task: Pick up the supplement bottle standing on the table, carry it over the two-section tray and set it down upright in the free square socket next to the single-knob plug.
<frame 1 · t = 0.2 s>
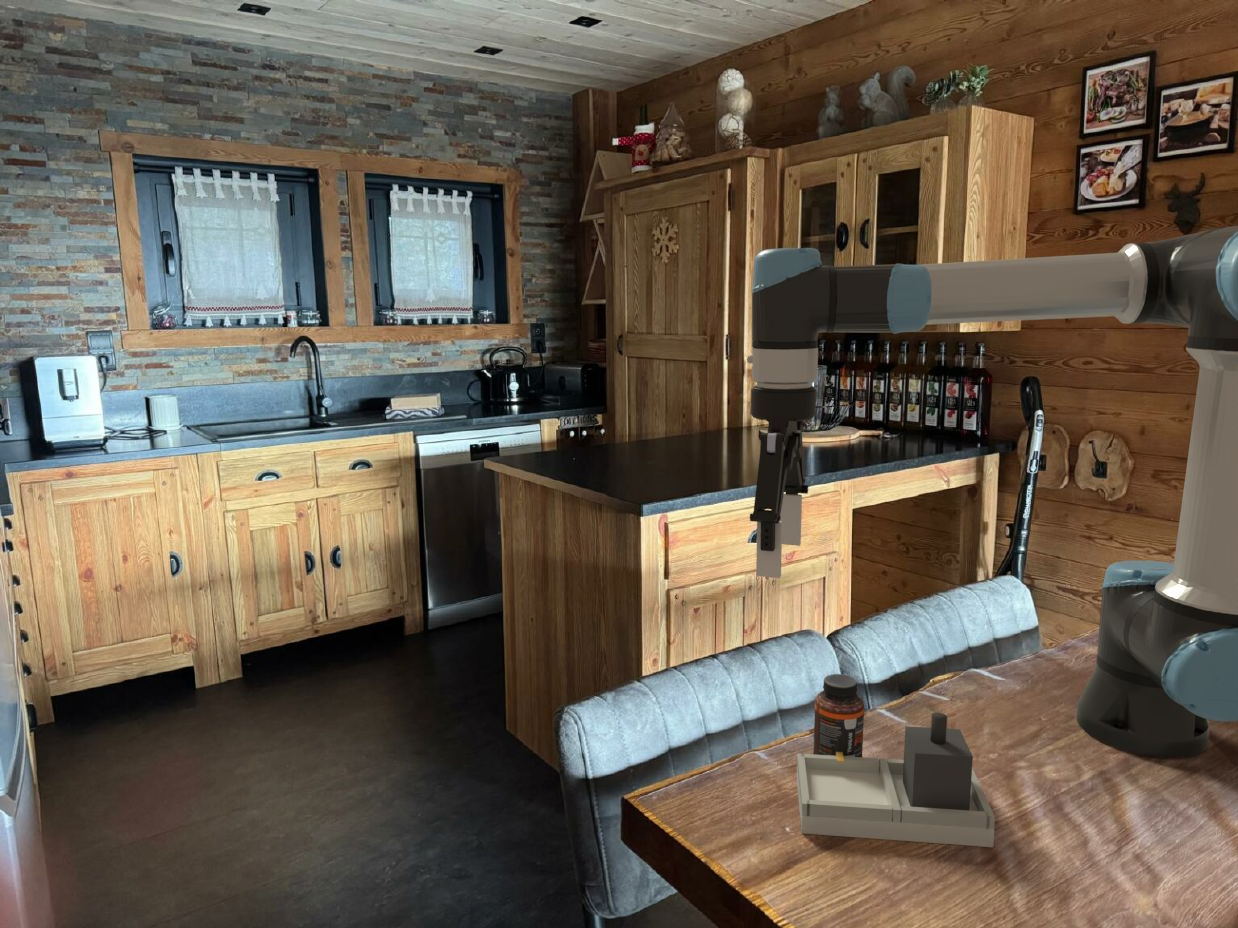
hand: (779, 559, 106), 27 cm above the table, fingers open, 13 cm apart
two-section tray: (888, 810, 99), on the table
supplement bottle: (837, 765, 109), on the table
single-knob plug: (933, 813, 99), resting on two-section tray
free socket: (843, 807, 100), resting on two-section tray
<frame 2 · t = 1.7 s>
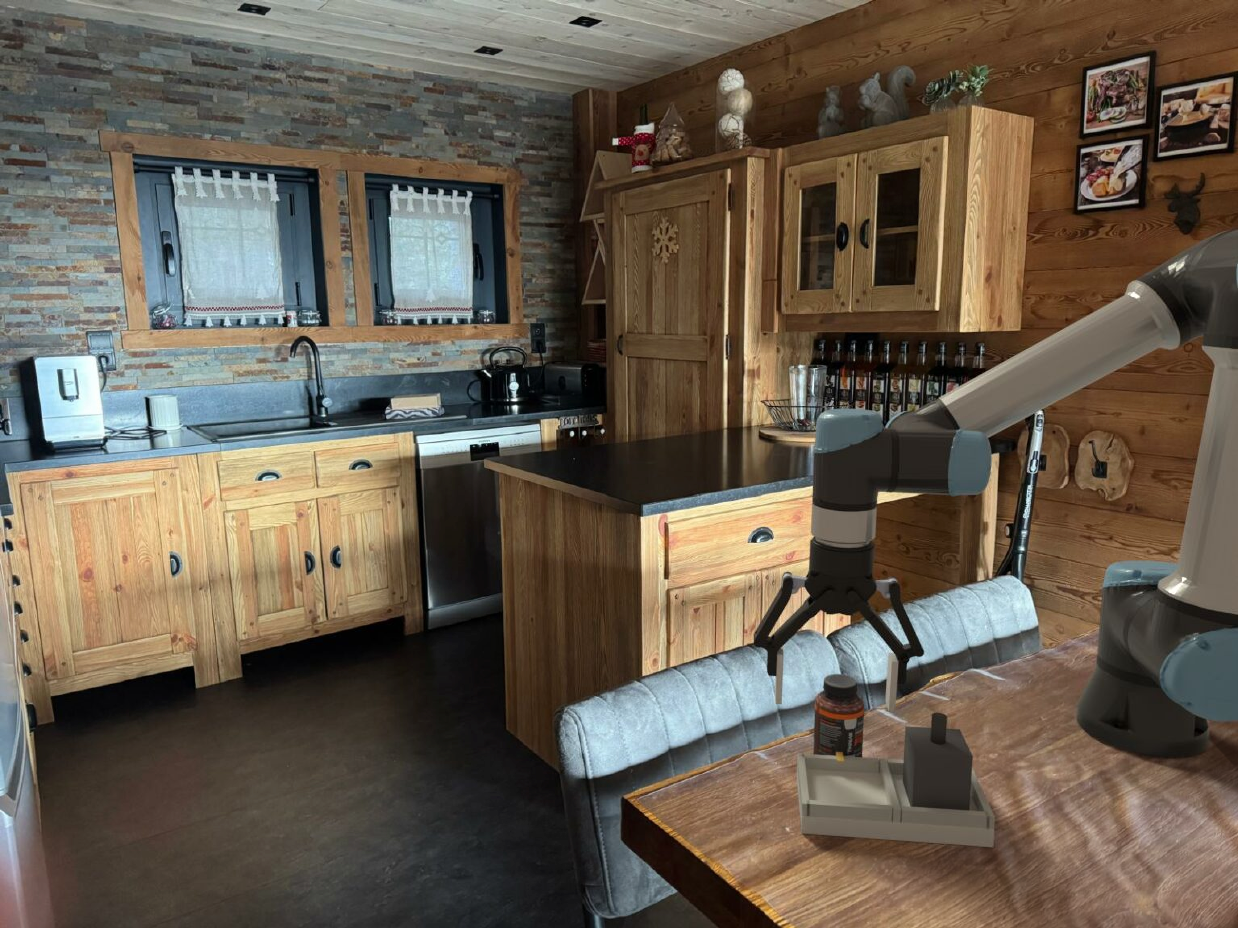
hand: (833, 703, 108), 8 cm above the table, fingers open, 13 cm apart
nothing on the table moved.
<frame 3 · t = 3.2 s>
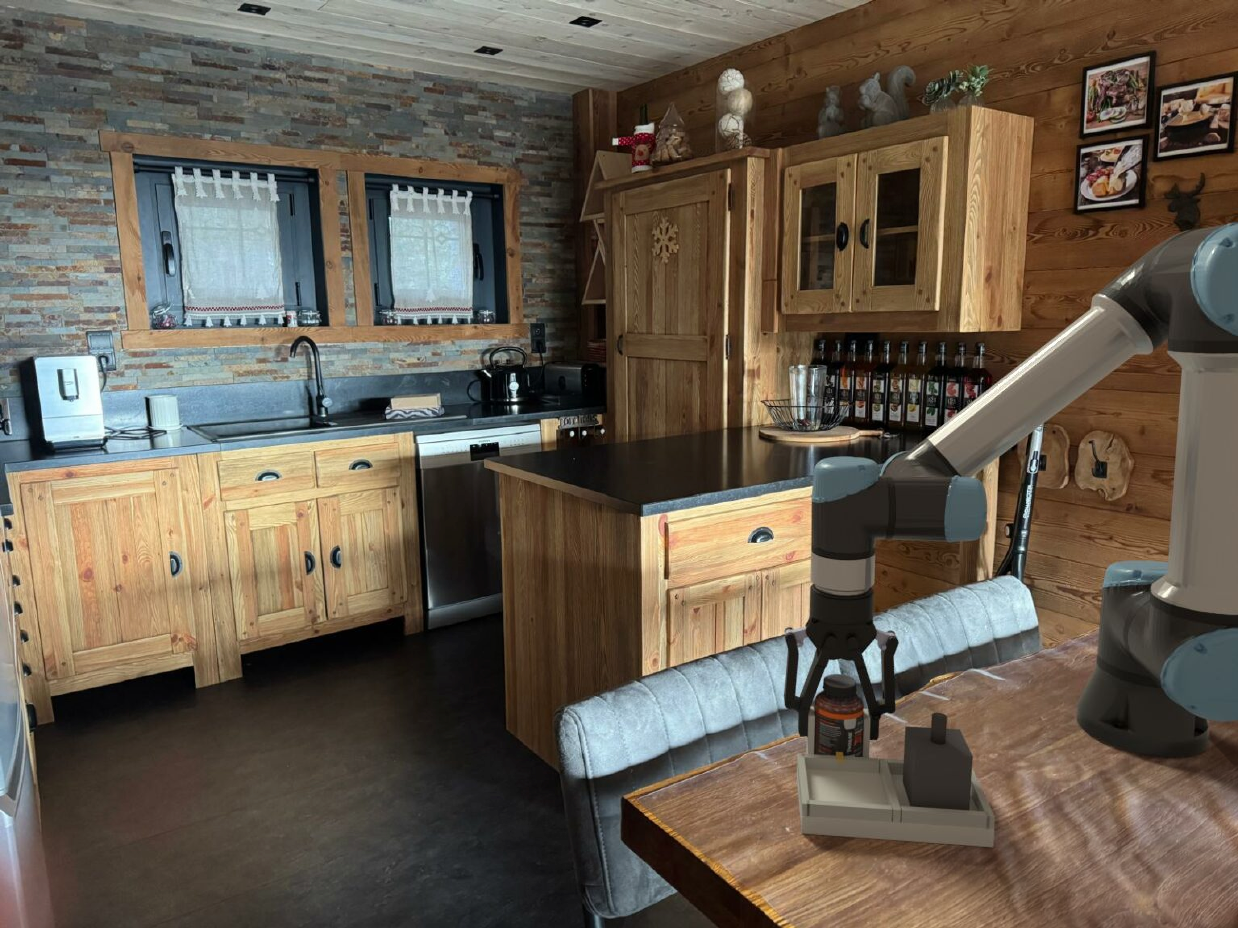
hand: (837, 759, 110), 0 cm above the table, fingers closed on supplement bottle, 6 cm apart
supplement bottle: (837, 765, 109), on the table, touching gripper
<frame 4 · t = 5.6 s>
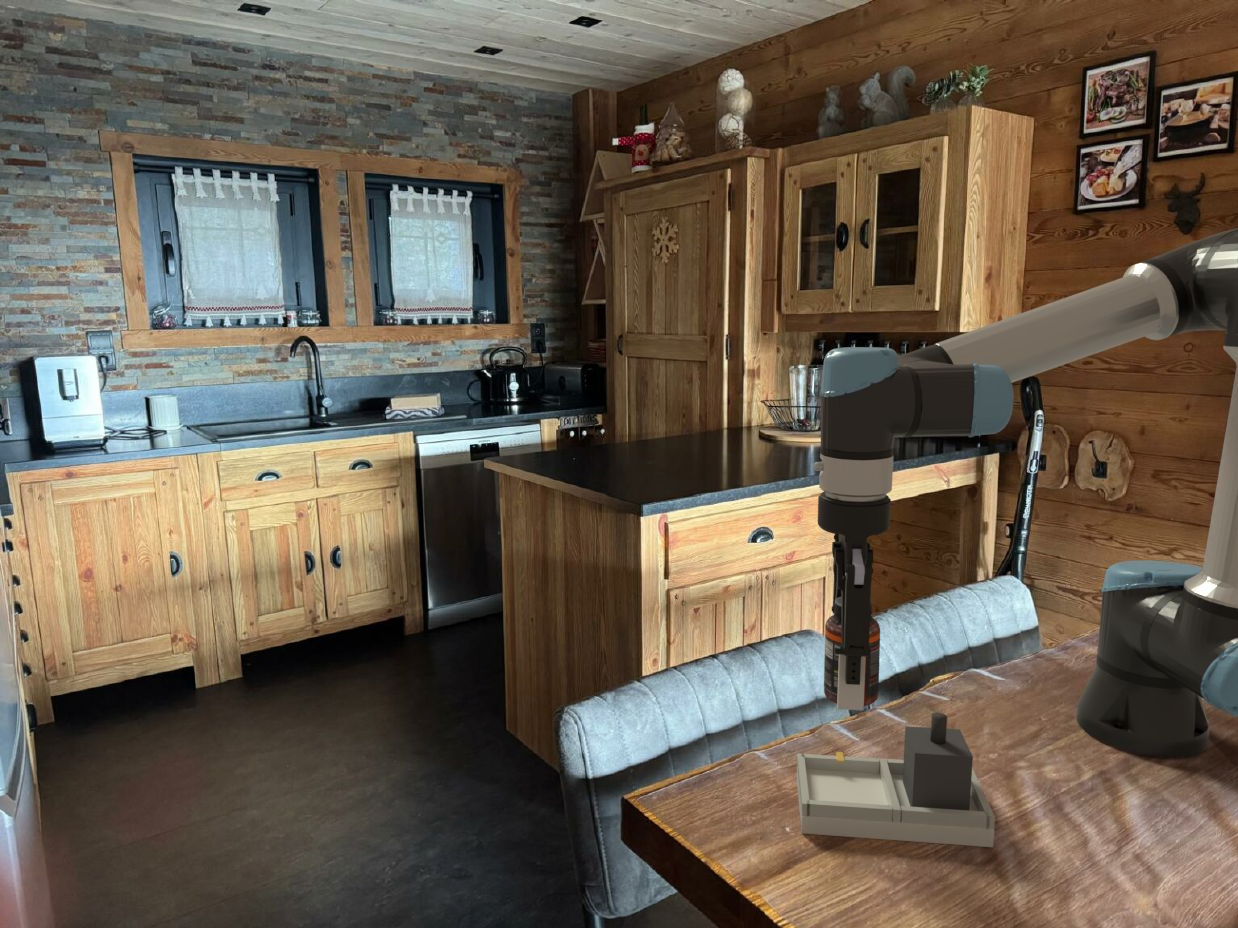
hand: (846, 693, 97), 14 cm above the table, fingers closed on supplement bottle, 6 cm apart
supplement bottle: (850, 698, 97), point 14 cm above the table, touching gripper
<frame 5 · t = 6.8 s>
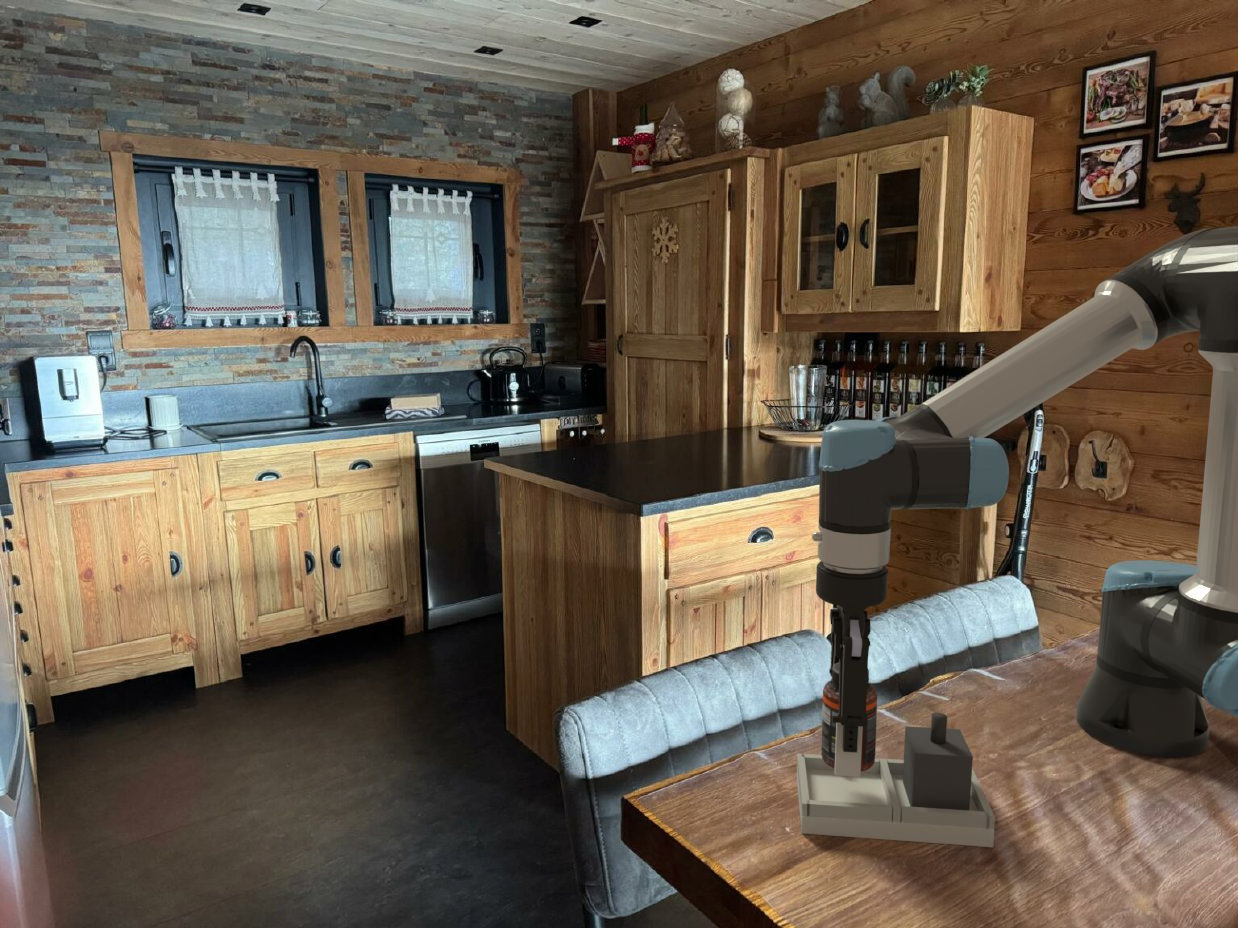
hand: (844, 757, 99), 6 cm above the table, fingers closed on supplement bottle, 6 cm apart
supplement bottle: (847, 762, 99), point 6 cm above the table, touching gripper
when the fingers open (4 cm above the table, at t = 7.9 s): supplement bottle drops 2 cm, resting on two-section tray.
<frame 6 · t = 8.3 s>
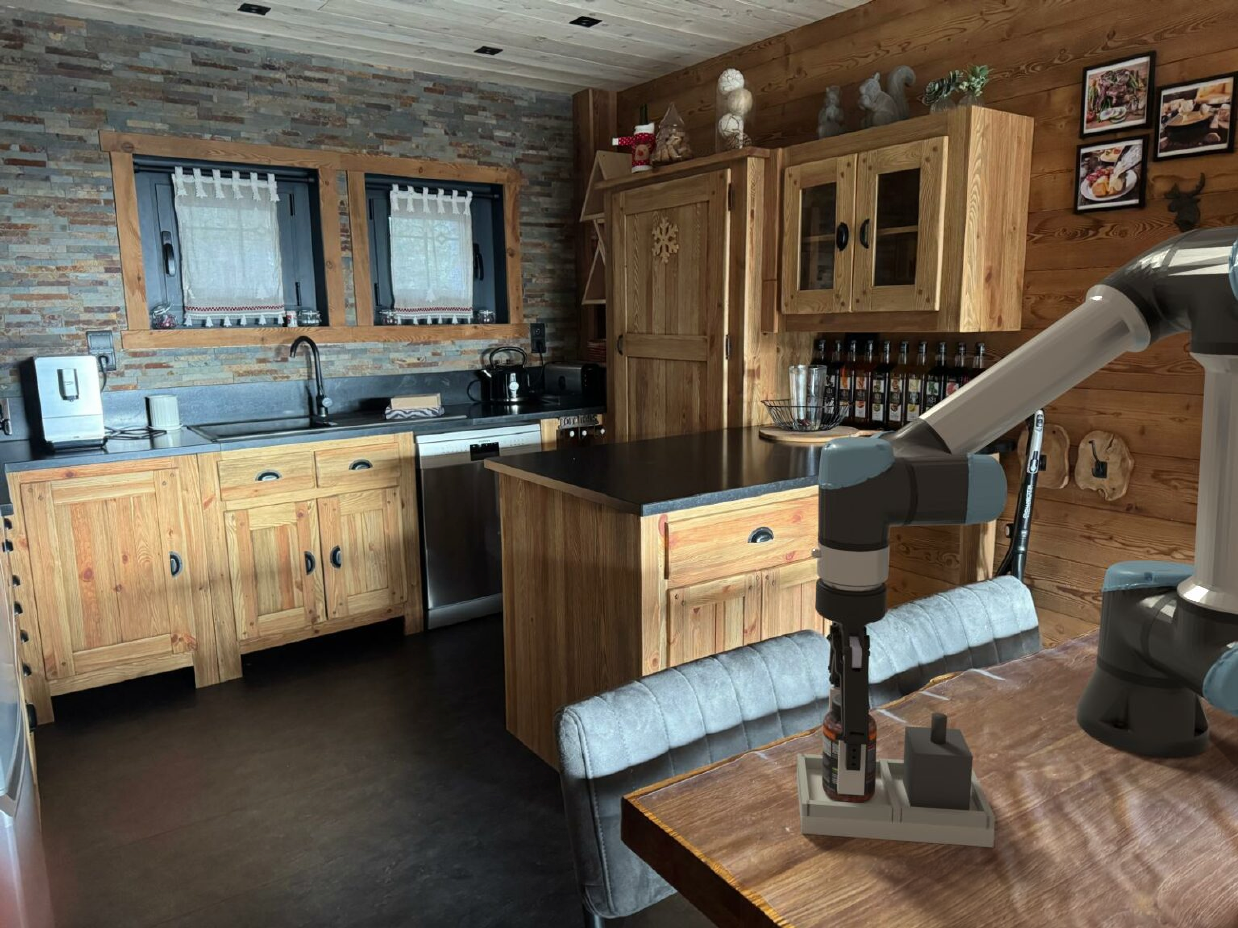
hand: (844, 764, 99), 5 cm above the table, fingers open, 11 cm apart
supplement bottle: (847, 792, 100), point 2 cm above the table, touching two-section tray
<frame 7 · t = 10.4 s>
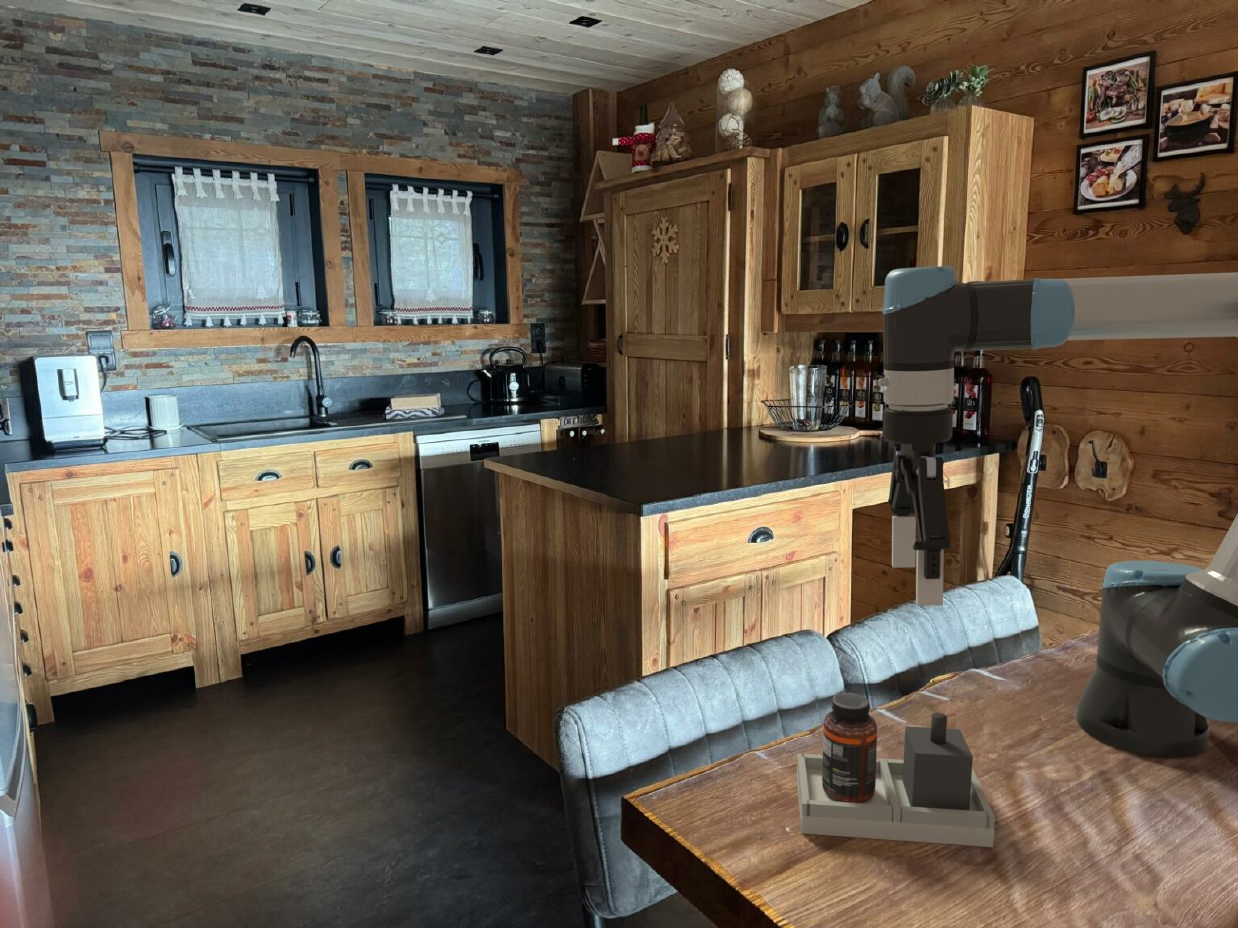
hand: (915, 584, 103), 24 cm above the table, fingers open, 13 cm apart
nothing on the table moved.
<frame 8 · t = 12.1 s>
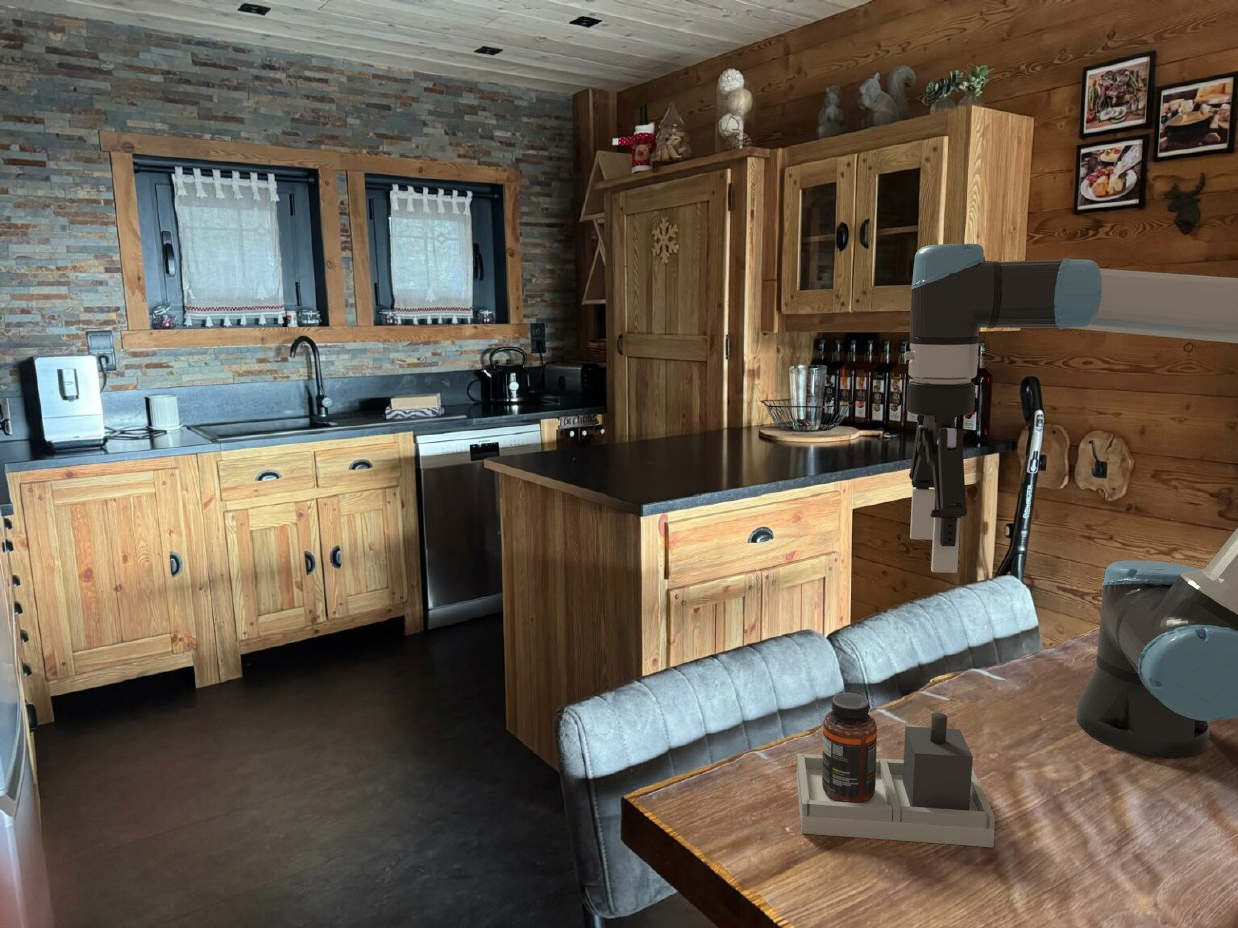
hand: (931, 554, 106), 27 cm above the table, fingers open, 13 cm apart
nothing on the table moved.
at the end: supplement bottle 0.5 cm from the free socket (horizontally); supplement bottle tilted 0°; the gripper is holding nothing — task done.
